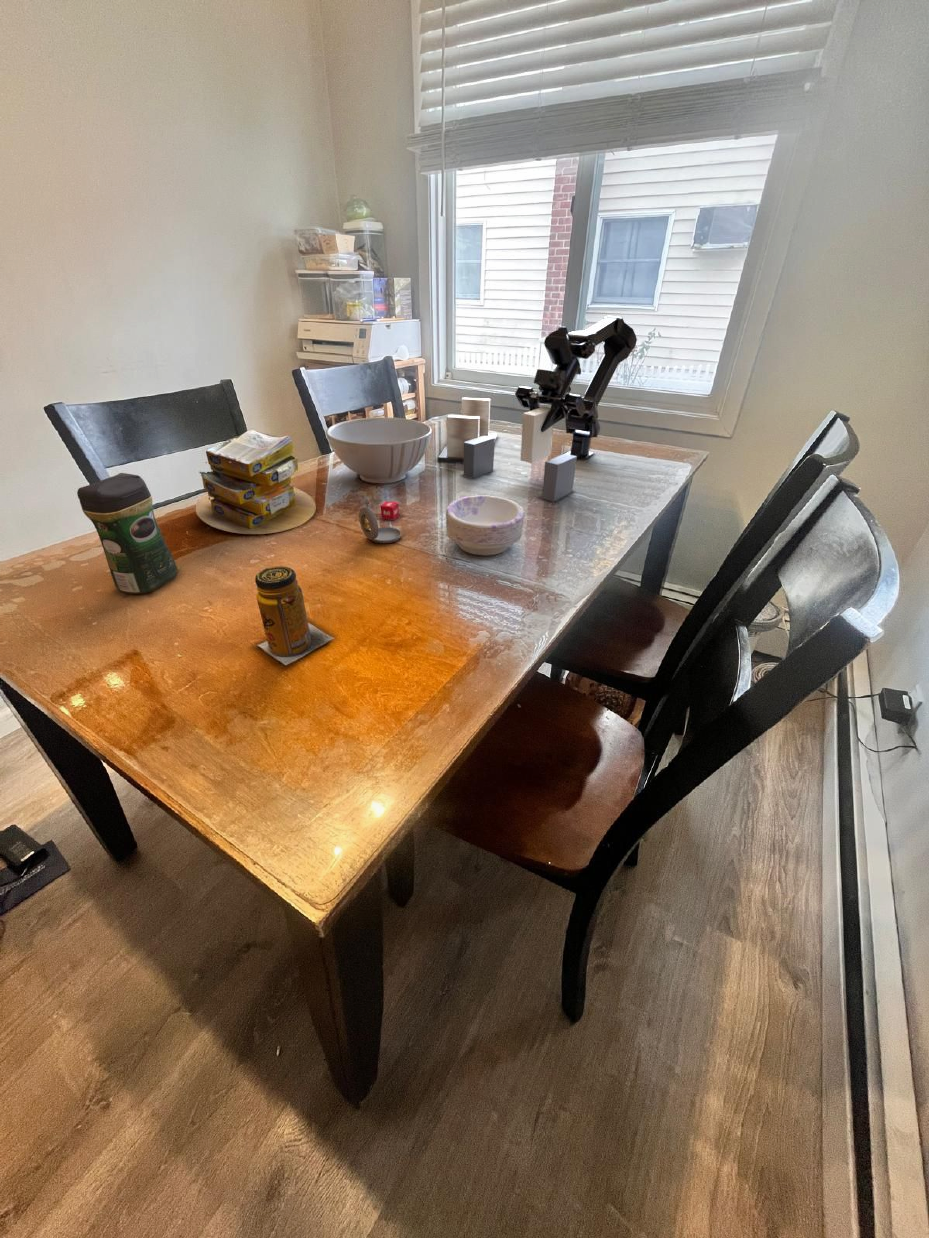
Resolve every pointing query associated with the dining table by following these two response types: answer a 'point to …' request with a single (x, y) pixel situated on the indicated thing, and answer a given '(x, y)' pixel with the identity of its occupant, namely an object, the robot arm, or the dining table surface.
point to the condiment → (285, 616)
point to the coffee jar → (128, 533)
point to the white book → (535, 436)
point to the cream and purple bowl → (484, 524)
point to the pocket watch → (376, 526)
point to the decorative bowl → (380, 446)
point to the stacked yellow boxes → (253, 486)
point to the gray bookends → (555, 473)
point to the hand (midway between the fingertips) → (535, 429)
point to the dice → (389, 510)
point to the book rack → (466, 428)
